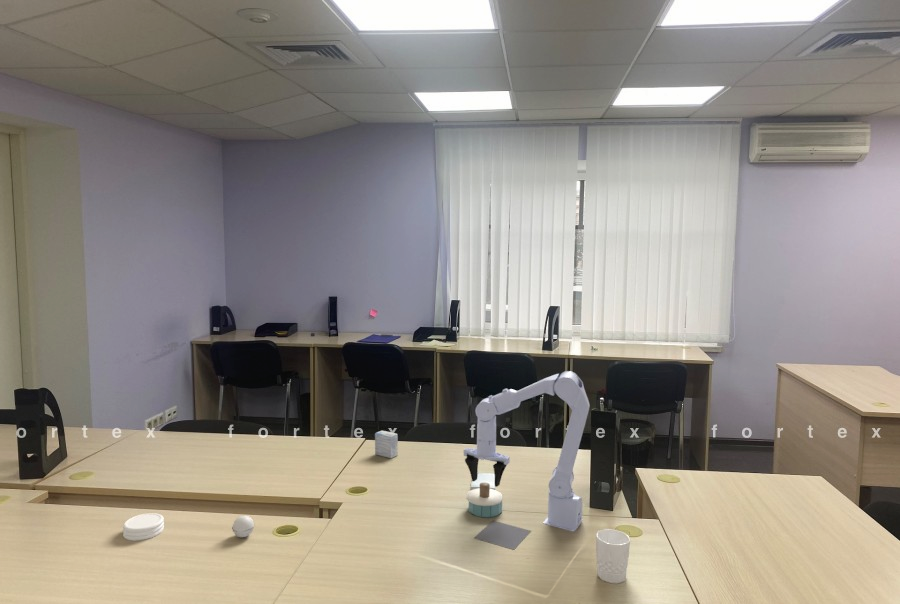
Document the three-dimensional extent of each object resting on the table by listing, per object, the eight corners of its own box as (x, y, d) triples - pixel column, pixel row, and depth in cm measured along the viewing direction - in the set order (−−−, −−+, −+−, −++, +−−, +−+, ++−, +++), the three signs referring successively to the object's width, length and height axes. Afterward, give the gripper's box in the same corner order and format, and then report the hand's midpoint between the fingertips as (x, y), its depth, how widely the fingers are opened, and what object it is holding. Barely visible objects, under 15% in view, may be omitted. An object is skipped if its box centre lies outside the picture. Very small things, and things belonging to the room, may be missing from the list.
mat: (531, 532, 161) (531, 530, 161) (514, 551, 151) (514, 549, 151) (492, 522, 167) (492, 520, 167) (473, 539, 157) (473, 537, 157)
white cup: (622, 567, 144) (623, 528, 143) (633, 585, 136) (634, 544, 135) (591, 567, 144) (592, 528, 143) (600, 585, 136) (601, 545, 135)
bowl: (507, 509, 176) (507, 495, 175) (492, 522, 167) (493, 508, 167) (478, 502, 181) (478, 488, 180) (462, 514, 172) (462, 500, 172)
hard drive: (473, 472, 202) (470, 486, 190) (496, 473, 201) (495, 487, 189) (473, 476, 202) (470, 491, 190) (496, 478, 201) (495, 492, 189)
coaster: (165, 521, 165) (165, 510, 165) (162, 538, 156) (161, 525, 156) (126, 527, 161) (125, 515, 161) (120, 544, 152) (119, 531, 152)
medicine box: (398, 455, 220) (398, 433, 220) (390, 459, 217) (391, 436, 216) (382, 451, 225) (382, 430, 224) (374, 454, 221) (374, 432, 220)
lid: (508, 495, 176) (508, 481, 175) (493, 509, 166) (493, 495, 166) (475, 487, 181) (476, 474, 180) (459, 500, 171) (460, 487, 171)
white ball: (232, 533, 159) (231, 513, 158) (253, 529, 161) (253, 510, 160) (232, 546, 151) (231, 526, 151) (255, 542, 153) (254, 522, 153)
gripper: (458, 438, 172) (458, 482, 173) (502, 447, 165) (502, 492, 166) (469, 432, 178) (469, 474, 179) (512, 440, 171) (511, 484, 172)
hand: (485, 482), depth 173 cm, fingers open, 7 cm apart
